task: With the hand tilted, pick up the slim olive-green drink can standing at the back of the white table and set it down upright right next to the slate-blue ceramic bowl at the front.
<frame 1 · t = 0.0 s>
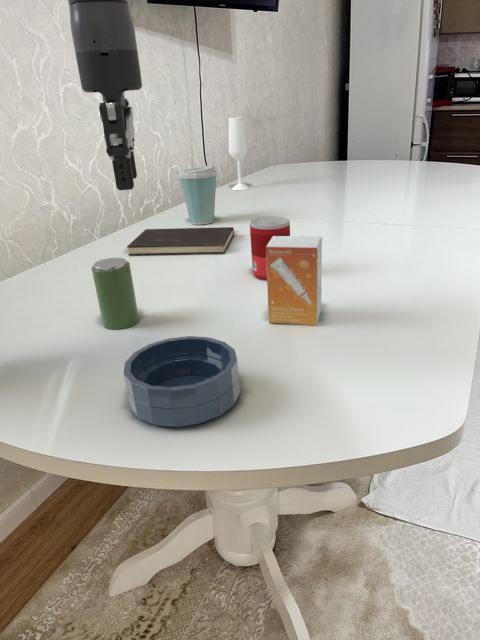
hand: (127, 183, 72), 24 cm above the table, tool pointing down, fingers open, 8 cm apart
slim can: (121, 322, 89), on the table
disposable coffee cup: (202, 222, 149), on the table
small box: (295, 318, 87), on the table
champagne flute: (240, 188, 193), on the table
canned food: (271, 275, 107), on the table
bowl: (185, 398, 67), on the table
hardcover book: (183, 245, 129), on the table
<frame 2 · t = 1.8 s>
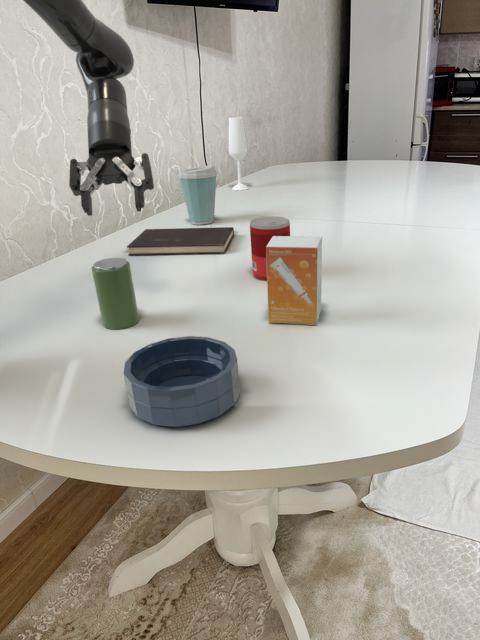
hand: (113, 211, 91), 16 cm above the table, tool tilted 45°, fingers open, 8 cm apart
nothing on the table moved.
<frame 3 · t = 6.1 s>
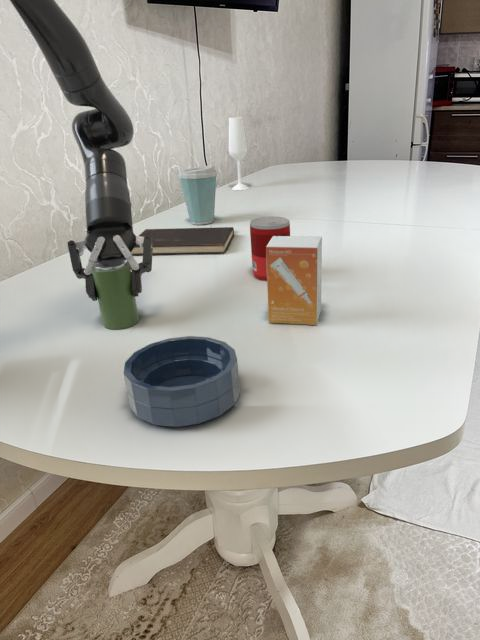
hand: (115, 296, 85), 5 cm above the table, tool tilted 45°, fingers closed on slim can, 6 cm apart
slim can: (121, 322, 89), on the table, touching gripper
everything else where it was.
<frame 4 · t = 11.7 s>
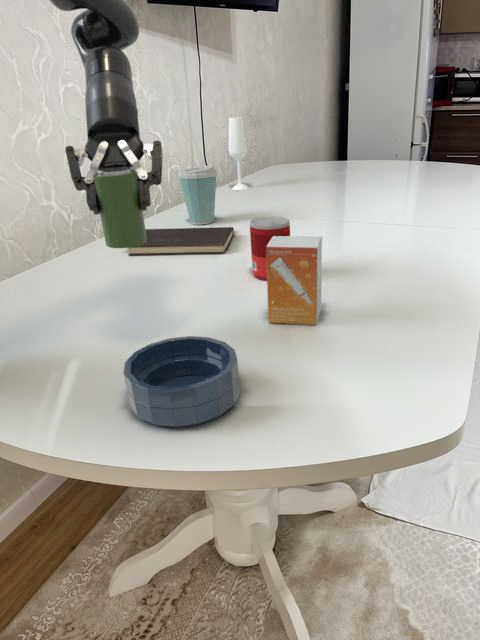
hand: (120, 209, 74), 20 cm above the table, tool tilted 45°, fingers closed on slim can, 6 cm apart
slim can: (126, 242, 78), point 15 cm above the table, touching gripper
everything else where it was.
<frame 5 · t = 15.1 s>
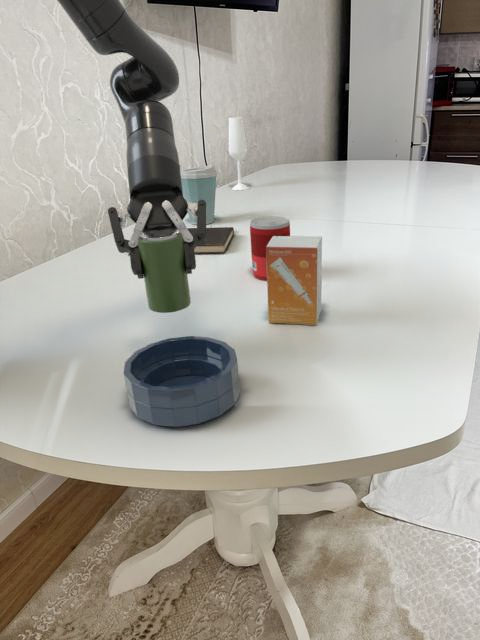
hand: (165, 273, 71), 13 cm above the table, tool tilted 45°, fingers closed on slim can, 6 cm apart
slim can: (169, 304, 75), point 7 cm above the table, touching gripper
everything else where it was.
when the fingers open (5 cm above the table, at t = 17.7 s): slim can stays where it is, on the table.
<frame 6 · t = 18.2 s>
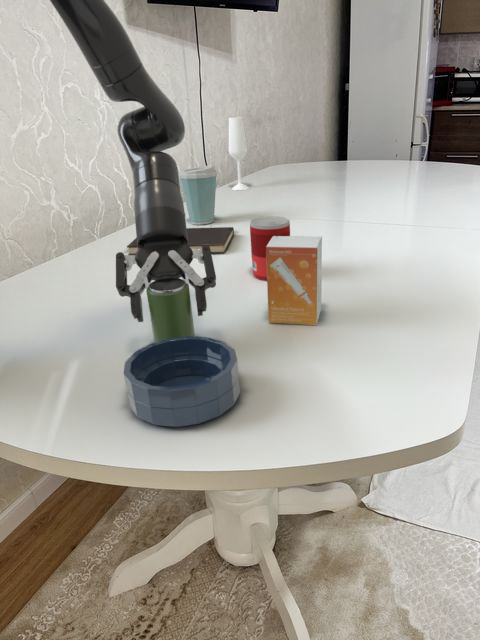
hand: (170, 317, 75), 6 cm above the table, tool tilted 45°, fingers open, 8 cm apart
slim can: (176, 349, 79), on the table
everything else where it was.
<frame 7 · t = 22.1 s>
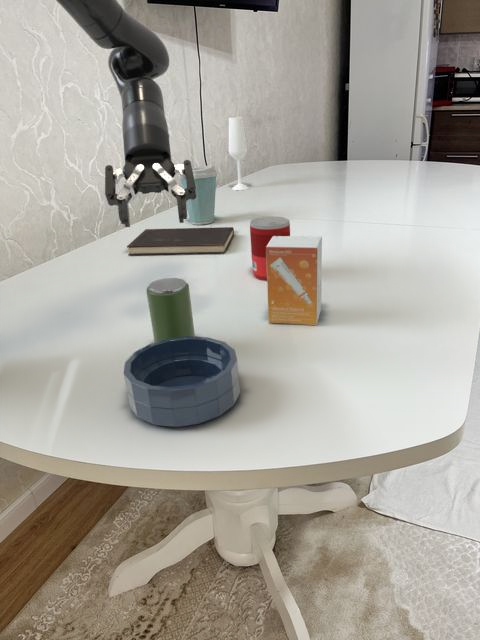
hand: (154, 222, 83), 16 cm above the table, tool tilted 45°, fingers open, 8 cm apart
nothing on the table moved.
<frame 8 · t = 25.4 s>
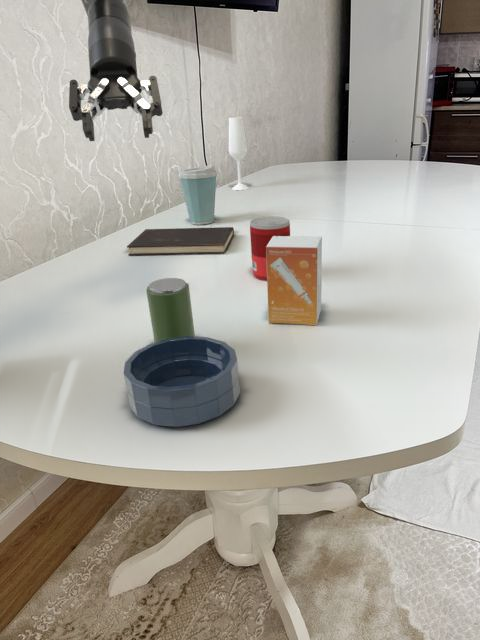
hand: (119, 136, 82), 29 cm above the table, tool tilted 45°, fingers open, 8 cm apart
nothing on the table moved.
at the end: slim can 14.1 cm from the bowl (horizontally); slim can tilted 0°; slim can moved 15.8 cm from its start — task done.
